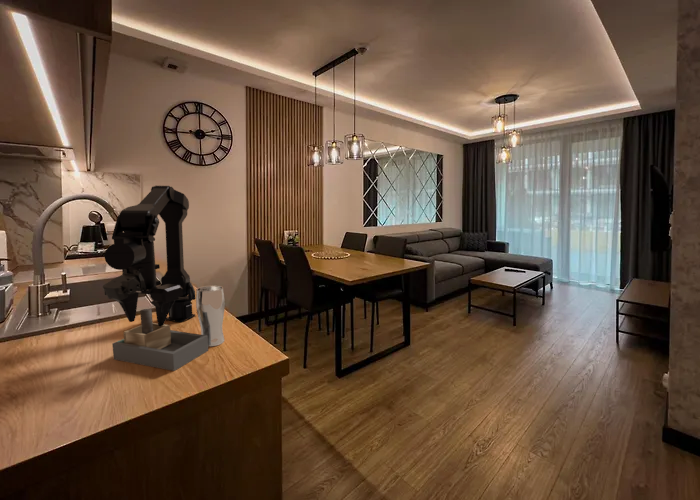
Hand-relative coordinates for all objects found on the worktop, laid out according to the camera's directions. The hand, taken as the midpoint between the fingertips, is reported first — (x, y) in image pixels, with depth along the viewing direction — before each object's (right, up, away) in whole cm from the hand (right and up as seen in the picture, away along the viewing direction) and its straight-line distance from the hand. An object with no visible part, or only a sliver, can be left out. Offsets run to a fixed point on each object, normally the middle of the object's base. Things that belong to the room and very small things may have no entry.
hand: (146, 323), depth 83 cm
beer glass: (+13, -7, +8) cm, 17 cm away
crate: (0, -6, +1) cm, 6 cm away
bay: (+4, -8, 0) cm, 9 cm away
